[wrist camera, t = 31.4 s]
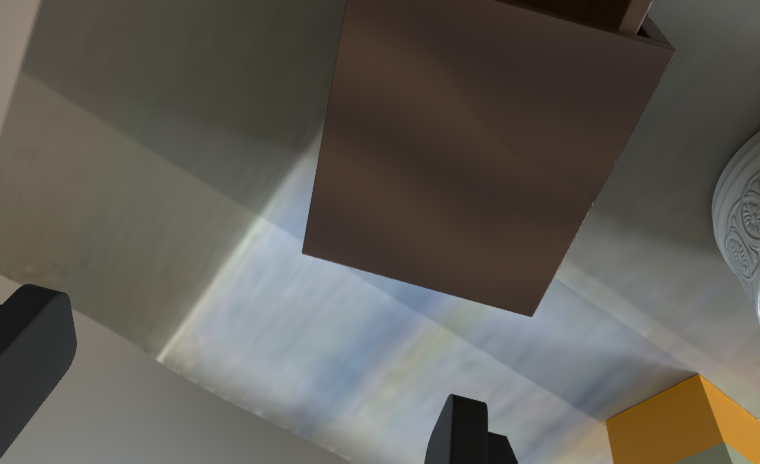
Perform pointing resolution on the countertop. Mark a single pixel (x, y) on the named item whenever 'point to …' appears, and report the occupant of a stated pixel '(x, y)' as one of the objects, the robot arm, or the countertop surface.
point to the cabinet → (473, 141)
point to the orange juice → (685, 428)
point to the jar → (740, 217)
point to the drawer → (599, 11)
